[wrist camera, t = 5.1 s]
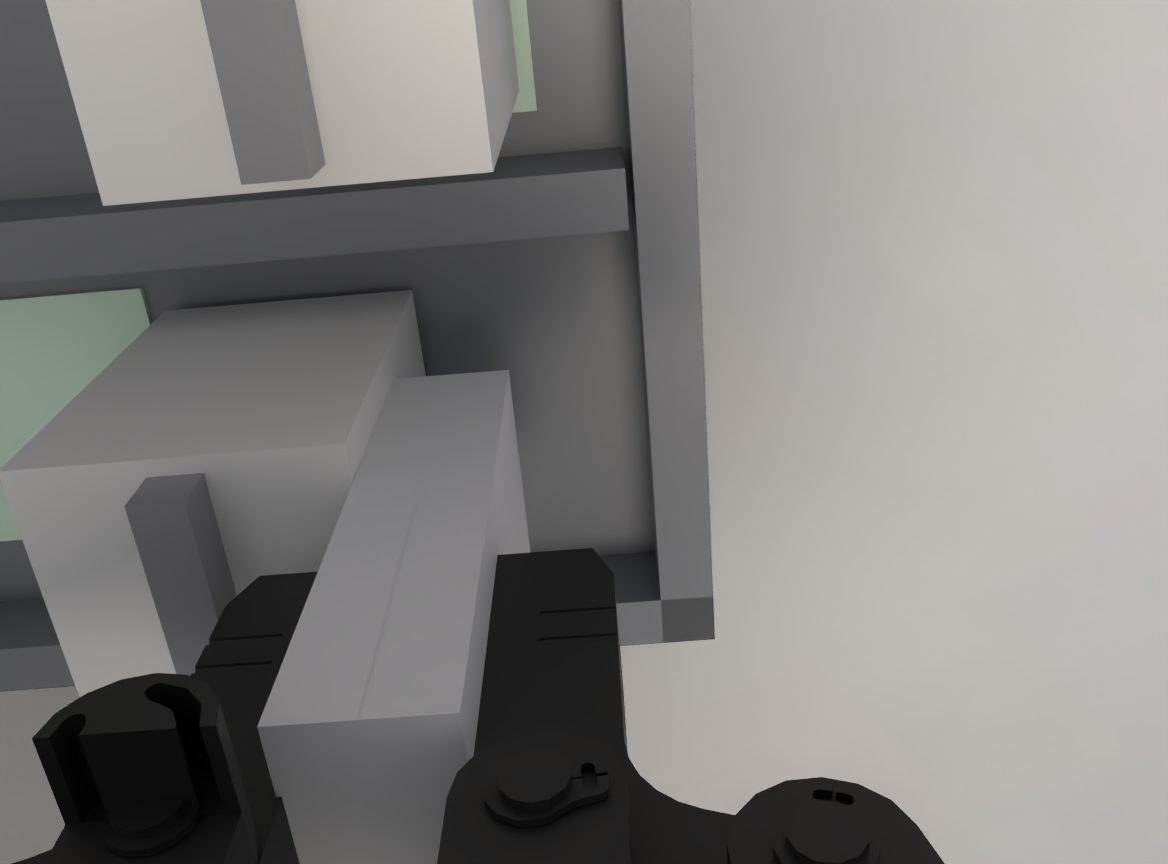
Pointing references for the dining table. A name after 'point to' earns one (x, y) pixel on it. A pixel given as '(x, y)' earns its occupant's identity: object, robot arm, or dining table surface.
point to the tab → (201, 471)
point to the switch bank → (415, 291)
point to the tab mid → (284, 92)
